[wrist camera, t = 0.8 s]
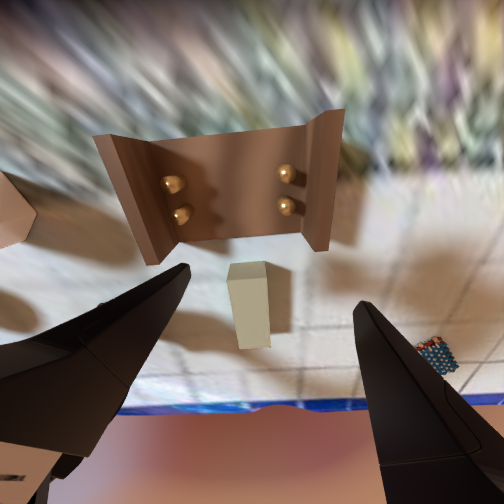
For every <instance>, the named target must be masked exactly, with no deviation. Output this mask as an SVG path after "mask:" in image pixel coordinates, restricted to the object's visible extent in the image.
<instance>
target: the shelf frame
mask: <svg viewBox="0 0 504 504" xmlns="http://www.w3.org/2000/svg"><path fill="white" fill-rule="evenodd" d="M344 114H345V109H337V110H328V111H325V112H323V113H322V114H320V115H319V116H317V117H316V118H314V119H313V120H311V121H310V122H308V123H307V124H305V125H302V126H292V127H283V128H273V129H264V130H254V131H245V132H235V133H226V134H217V135H207V136H198V137H188V138H179V139H169V140H160V141H150V142H148V141H143V140H138V139H133V138H127V137H122V136H117V135H112V134H106V135H97V136H92V137H93V139H94V141H95V144H96V146H97V148H98V151H99V153H100V156H101V158H102V160H103V163H104V165H105V168H106V170H107V172H108V175H109V177H110V180H111V182H112V184H113V187H114V189H115V191H116V194H117V196H118V199H119V201H120V203H121V206H122V208H123V211H124V213H125V215H126V218H127V220H128V222H129V225H130V227H131V230H132V232H133V234H134V237H135V239H136V242H137V244H138V246H139V249H140V251H141V254H142V256H143V258H144V261H145V263H146V265H147V266H148V265H159V264H160V263H161V262H162V261H163V260H164V259H165V258H166V257H167V255H168V254H169V253H170V252H171V251H172V250H173V249H174V248H175V246H176V245H177V244H178V243H179V242H189V241H200V240H212V239H224V238H236V237H247V236H259V235H271V234H283V233H295V232H301V234H302V235H303V236H304V238H305V239H306V241H307V242H308V243H309V245H310V246H311V248H312V249H313V251H314V252H321V251H328V249H329V241H330V232H331V224H332V215H333V207H334V199H335V190H336V182H337V173H338V165H339V156H340V148H341V140H342V131H343V123H344Z"/></svg>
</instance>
